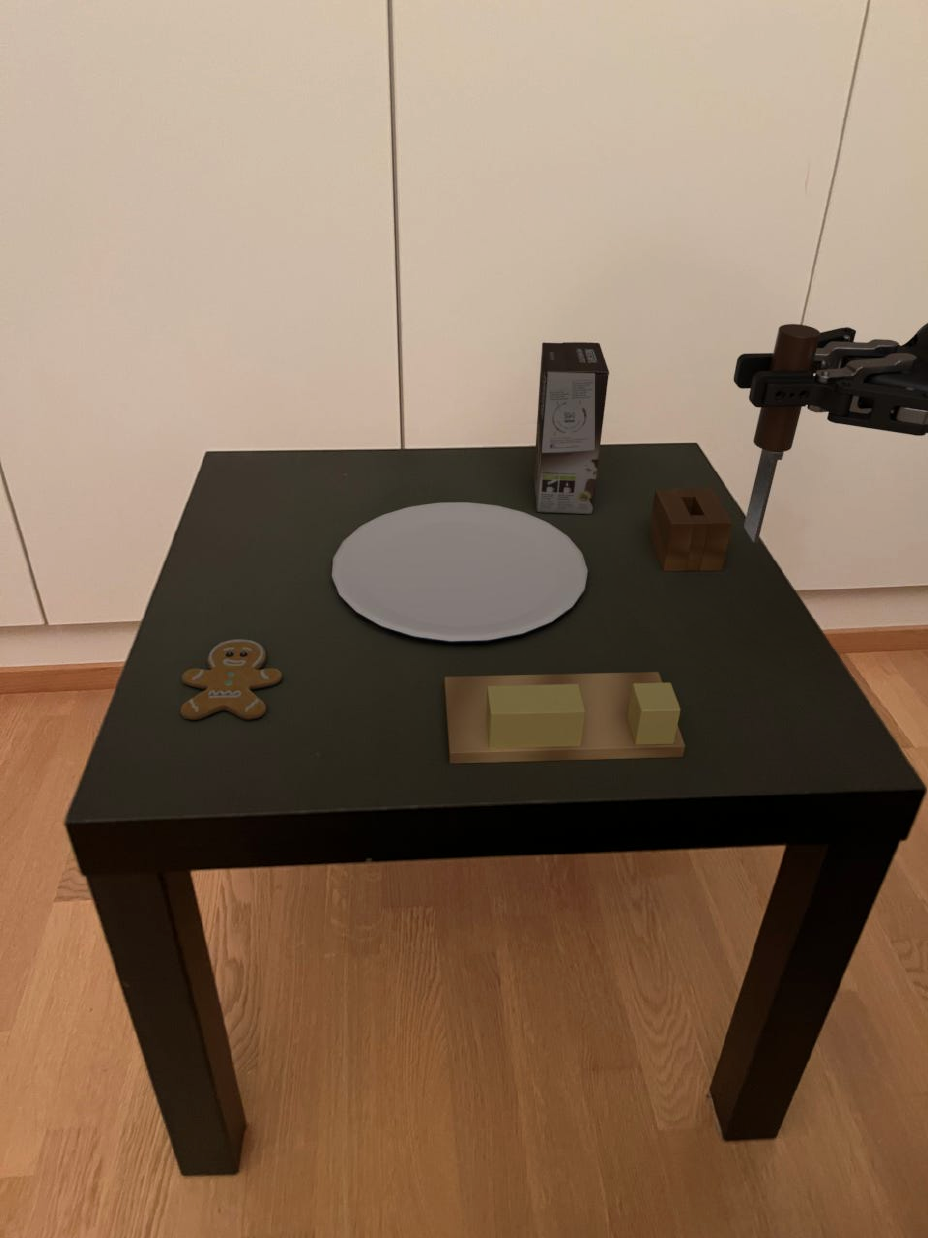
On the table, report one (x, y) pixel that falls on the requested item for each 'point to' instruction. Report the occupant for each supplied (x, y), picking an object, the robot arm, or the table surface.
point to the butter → (534, 716)
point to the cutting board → (600, 740)
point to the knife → (778, 418)
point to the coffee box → (569, 426)
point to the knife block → (689, 530)
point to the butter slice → (653, 713)
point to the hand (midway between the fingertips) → (746, 380)
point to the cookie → (230, 681)
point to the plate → (459, 572)
